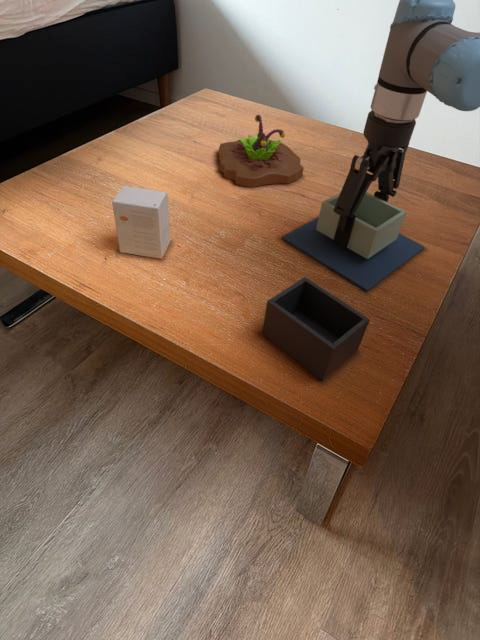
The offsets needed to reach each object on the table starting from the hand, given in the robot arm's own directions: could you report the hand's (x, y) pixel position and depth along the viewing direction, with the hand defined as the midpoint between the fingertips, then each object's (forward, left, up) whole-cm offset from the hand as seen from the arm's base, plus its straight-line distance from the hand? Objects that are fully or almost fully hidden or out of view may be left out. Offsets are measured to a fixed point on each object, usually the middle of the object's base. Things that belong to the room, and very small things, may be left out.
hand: (356, 233), depth 86 cm
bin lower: (-11, +27, -3) cm, 29 cm away
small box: (+24, +32, -3) cm, 40 cm away
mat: (0, 0, -3) cm, 3 cm away
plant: (+34, -8, -3) cm, 35 cm away
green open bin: (0, 0, 0) cm, 0 cm away
